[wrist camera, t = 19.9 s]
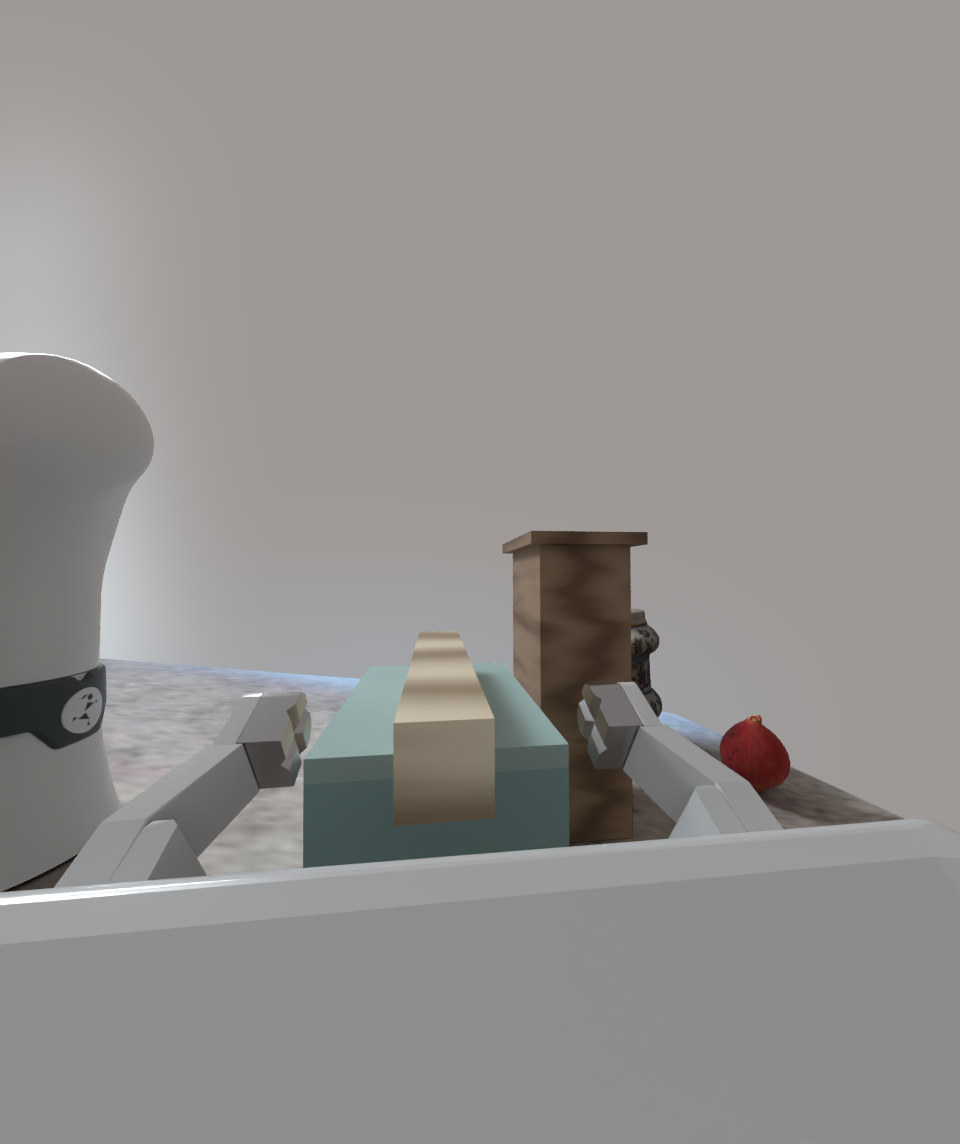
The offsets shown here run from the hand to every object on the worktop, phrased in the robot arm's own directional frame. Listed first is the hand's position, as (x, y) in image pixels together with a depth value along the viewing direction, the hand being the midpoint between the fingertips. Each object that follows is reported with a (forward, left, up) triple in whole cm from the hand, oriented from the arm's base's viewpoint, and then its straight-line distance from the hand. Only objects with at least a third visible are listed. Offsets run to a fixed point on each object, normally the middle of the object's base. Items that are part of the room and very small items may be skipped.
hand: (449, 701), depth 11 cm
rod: (0, +10, -4) cm, 10 cm away
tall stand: (+12, +25, -19) cm, 34 cm away
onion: (+32, +25, -19) cm, 45 cm away
